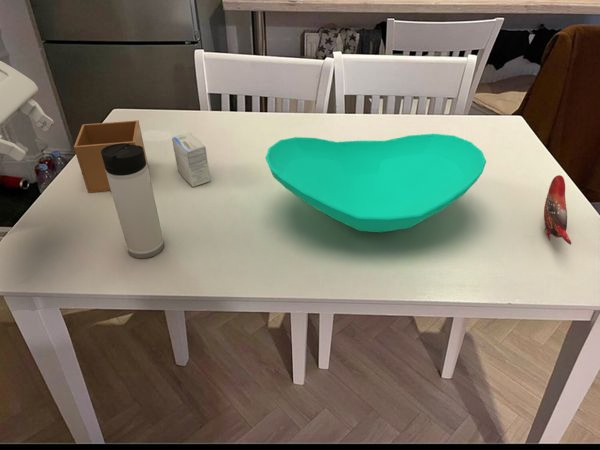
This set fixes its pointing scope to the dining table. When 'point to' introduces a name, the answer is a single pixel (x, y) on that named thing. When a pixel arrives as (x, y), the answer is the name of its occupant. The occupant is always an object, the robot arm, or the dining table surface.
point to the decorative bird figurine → (556, 210)
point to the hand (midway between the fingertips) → (38, 140)
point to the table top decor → (377, 177)
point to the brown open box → (95, 140)
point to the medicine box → (191, 159)
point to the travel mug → (133, 198)
